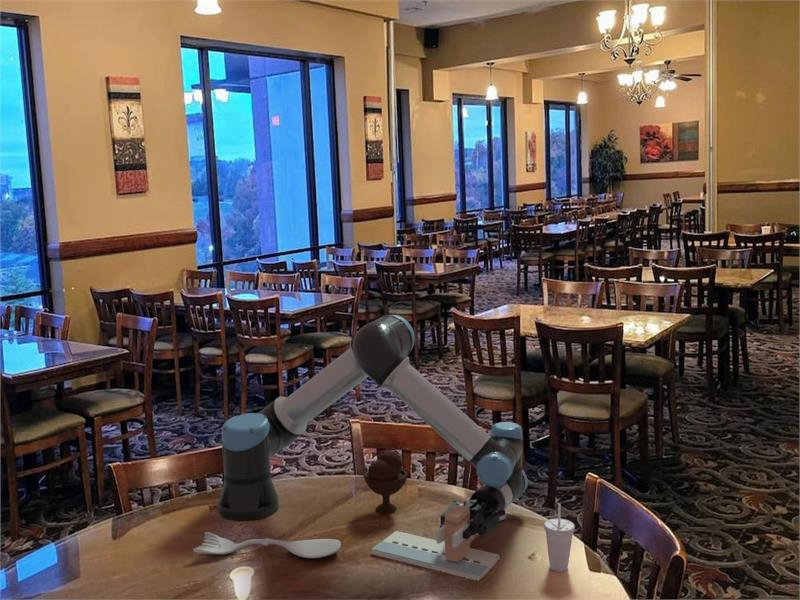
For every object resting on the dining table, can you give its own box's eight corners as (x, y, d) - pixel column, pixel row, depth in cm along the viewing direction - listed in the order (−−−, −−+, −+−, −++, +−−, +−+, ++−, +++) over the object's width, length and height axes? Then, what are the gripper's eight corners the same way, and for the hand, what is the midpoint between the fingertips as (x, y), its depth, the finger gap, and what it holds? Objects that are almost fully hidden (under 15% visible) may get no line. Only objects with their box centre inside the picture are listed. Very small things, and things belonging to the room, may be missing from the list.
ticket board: (371, 554, 176) (371, 548, 176) (396, 534, 185) (396, 530, 185) (478, 581, 163) (478, 575, 163) (499, 559, 173) (499, 554, 172)
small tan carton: (444, 559, 170) (444, 514, 168) (457, 548, 175) (457, 504, 173) (457, 562, 168) (457, 517, 167) (470, 551, 173) (469, 507, 172)
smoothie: (572, 561, 171) (573, 499, 169) (575, 575, 165) (577, 511, 163) (542, 560, 172) (542, 498, 170) (544, 574, 166) (545, 510, 164)
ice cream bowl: (381, 498, 208) (380, 442, 205) (416, 507, 201) (415, 450, 199) (355, 511, 199) (354, 454, 197) (391, 522, 193) (390, 462, 190)
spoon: (205, 544, 183) (205, 529, 182) (343, 546, 181) (343, 531, 180) (193, 562, 174) (192, 547, 174) (338, 564, 172) (337, 549, 171)
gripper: (523, 522, 183) (481, 564, 162) (459, 508, 191) (412, 547, 170) (523, 491, 181) (481, 529, 161) (459, 479, 189) (412, 514, 169)
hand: (446, 539), depth 166 cm, fingers closed on small tan carton, 3 cm apart
